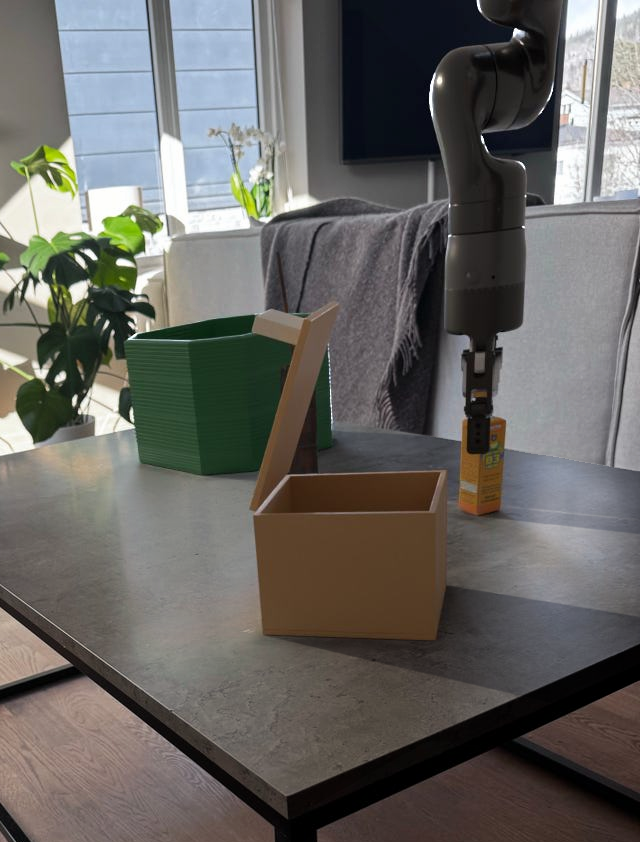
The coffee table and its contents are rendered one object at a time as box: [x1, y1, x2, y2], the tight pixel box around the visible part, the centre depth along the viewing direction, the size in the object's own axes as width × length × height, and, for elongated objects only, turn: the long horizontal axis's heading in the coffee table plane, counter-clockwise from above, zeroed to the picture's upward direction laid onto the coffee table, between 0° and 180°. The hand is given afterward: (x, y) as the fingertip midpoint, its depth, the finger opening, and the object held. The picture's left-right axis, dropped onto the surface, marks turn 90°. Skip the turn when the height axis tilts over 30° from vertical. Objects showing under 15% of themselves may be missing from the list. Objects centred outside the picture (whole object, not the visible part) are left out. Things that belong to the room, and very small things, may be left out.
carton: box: [252, 469, 448, 641], centre depth 77 cm, size 14×12×10 cm
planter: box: [123, 312, 334, 476], centre depth 137 cm, size 26×26×18 cm
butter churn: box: [275, 251, 319, 475], centre depth 114 cm, size 9×10×28 cm
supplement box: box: [458, 415, 507, 516], centre depth 98 cm, size 3×3×10 cm
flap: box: [248, 300, 341, 513], centre depth 74 cm, size 15×12×5 cm
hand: (479, 443), depth 97 cm, fingers open, 8 cm apart
